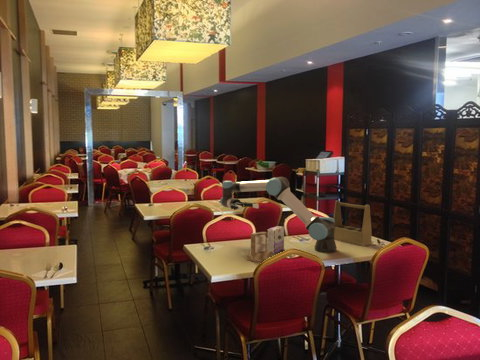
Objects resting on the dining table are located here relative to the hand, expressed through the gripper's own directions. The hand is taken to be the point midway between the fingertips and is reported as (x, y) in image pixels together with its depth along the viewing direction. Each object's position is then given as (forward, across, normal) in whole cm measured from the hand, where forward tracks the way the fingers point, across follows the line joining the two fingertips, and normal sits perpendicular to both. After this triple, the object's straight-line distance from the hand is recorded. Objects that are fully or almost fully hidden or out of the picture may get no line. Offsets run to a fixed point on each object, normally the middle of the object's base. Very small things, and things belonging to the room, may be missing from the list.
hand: (249, 207), depth 304 cm
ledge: (+19, +5, -31) cm, 36 cm away
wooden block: (+18, +5, -28) cm, 34 cm away
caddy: (+12, -82, -32) cm, 89 cm away
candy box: (+7, -16, -31) cm, 36 cm away
